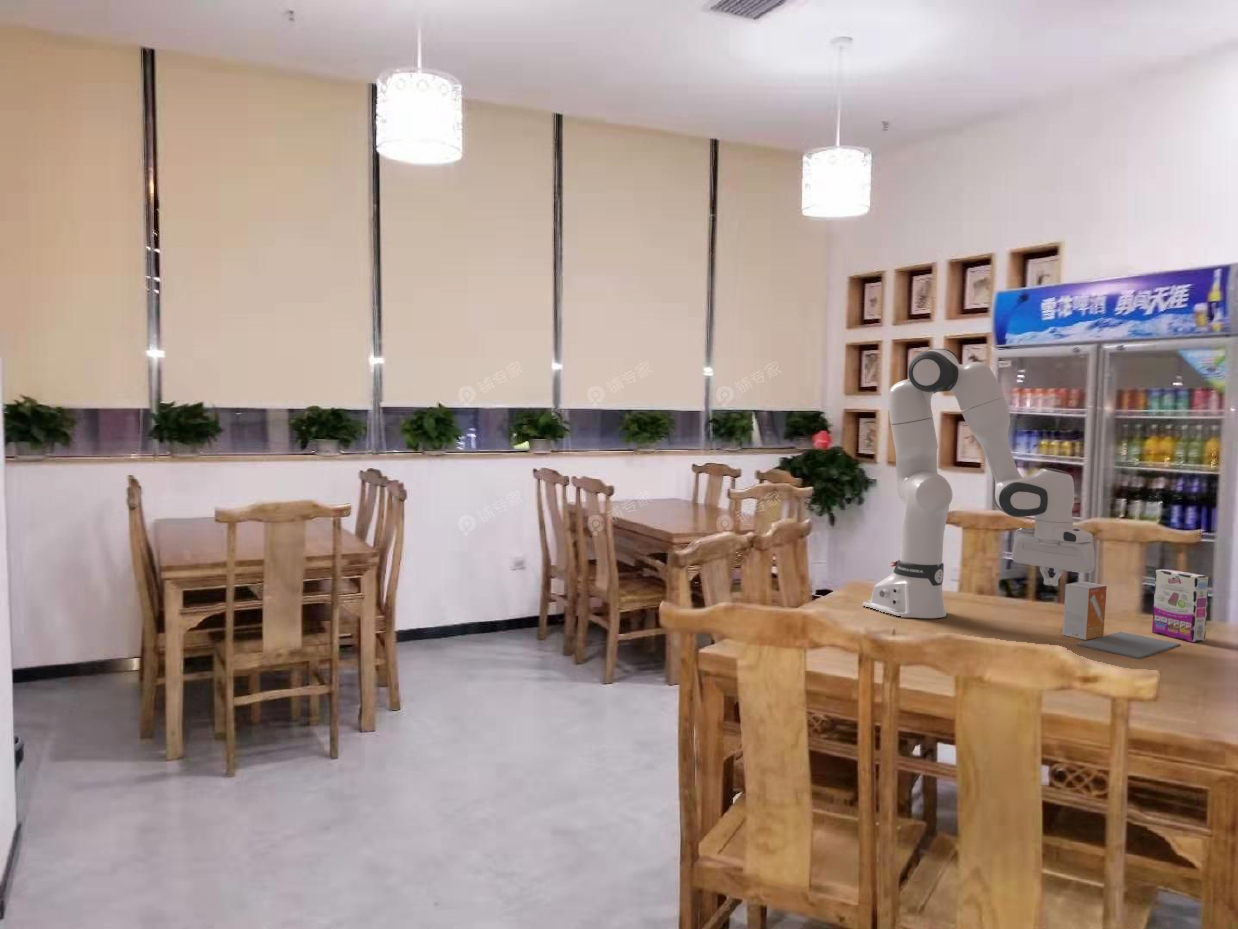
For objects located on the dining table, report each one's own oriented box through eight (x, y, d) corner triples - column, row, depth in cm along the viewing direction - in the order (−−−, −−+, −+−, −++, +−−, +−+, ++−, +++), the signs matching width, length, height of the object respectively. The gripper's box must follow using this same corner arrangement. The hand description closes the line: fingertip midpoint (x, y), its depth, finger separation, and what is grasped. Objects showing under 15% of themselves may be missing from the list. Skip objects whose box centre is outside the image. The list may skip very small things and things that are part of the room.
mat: (1077, 645, 223) (1077, 643, 223) (1120, 633, 236) (1120, 631, 236) (1138, 658, 212) (1138, 657, 212) (1180, 645, 225) (1180, 643, 225)
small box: (1086, 640, 228) (1089, 588, 227) (1061, 635, 233) (1064, 583, 232) (1104, 636, 232) (1107, 585, 232) (1080, 631, 238) (1082, 580, 237)
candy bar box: (1206, 641, 230) (1210, 575, 229) (1192, 643, 228) (1196, 576, 227) (1164, 631, 240) (1168, 568, 239) (1150, 632, 238) (1154, 569, 237)
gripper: (1008, 527, 245) (1006, 579, 246) (1086, 537, 228) (1084, 593, 229) (1021, 526, 248) (1019, 577, 249) (1099, 535, 232) (1096, 590, 233)
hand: (1050, 585), depth 239 cm, fingers closed
